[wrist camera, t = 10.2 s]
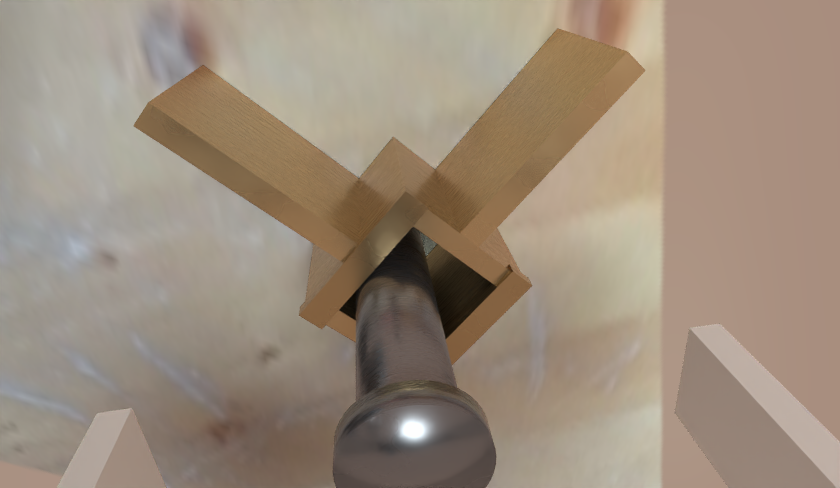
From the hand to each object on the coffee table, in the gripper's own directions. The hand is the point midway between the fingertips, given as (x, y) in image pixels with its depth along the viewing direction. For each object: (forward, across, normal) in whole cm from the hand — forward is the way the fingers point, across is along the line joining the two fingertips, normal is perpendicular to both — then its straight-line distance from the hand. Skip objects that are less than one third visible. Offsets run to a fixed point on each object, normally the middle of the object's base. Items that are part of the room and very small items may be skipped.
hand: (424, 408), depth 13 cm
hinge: (+11, +1, +4) cm, 12 cm away
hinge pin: (+11, 0, 0) cm, 11 cm away
